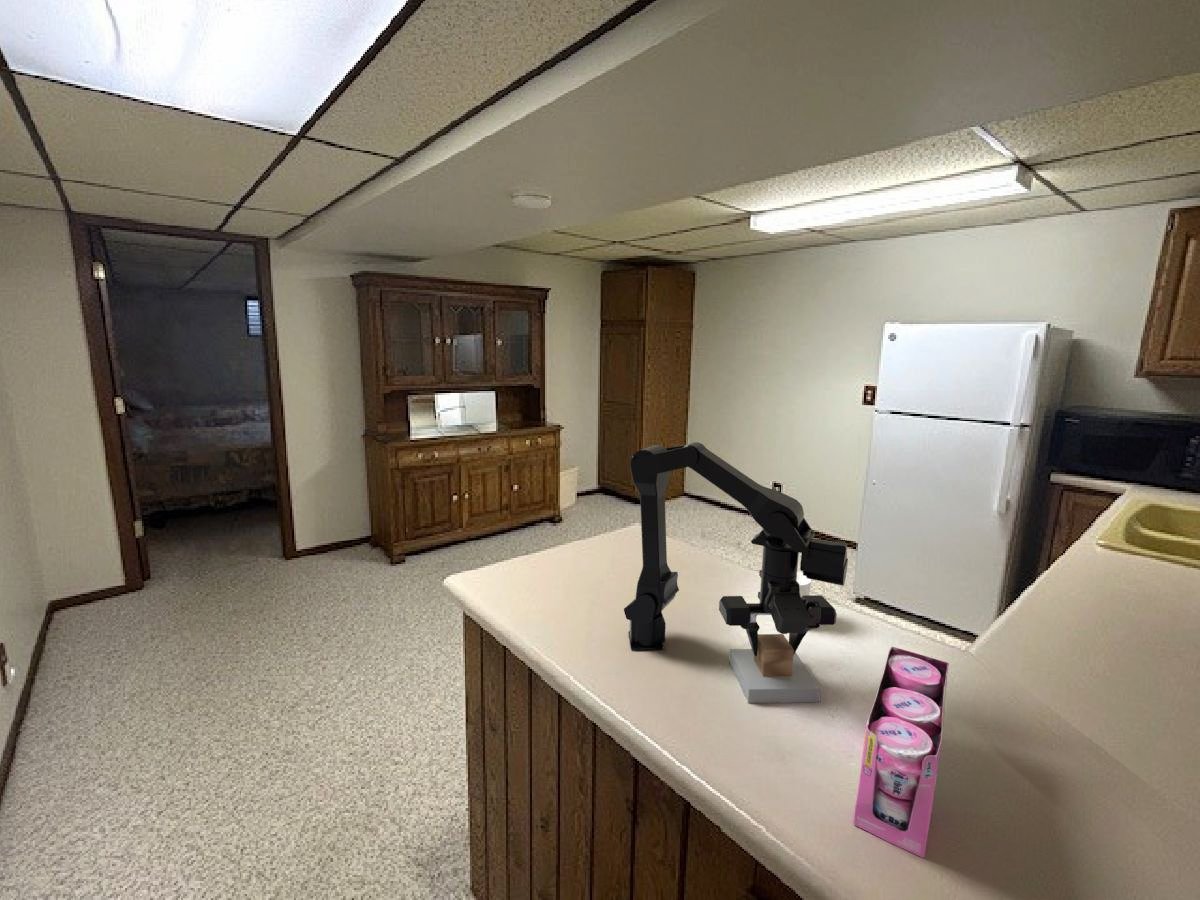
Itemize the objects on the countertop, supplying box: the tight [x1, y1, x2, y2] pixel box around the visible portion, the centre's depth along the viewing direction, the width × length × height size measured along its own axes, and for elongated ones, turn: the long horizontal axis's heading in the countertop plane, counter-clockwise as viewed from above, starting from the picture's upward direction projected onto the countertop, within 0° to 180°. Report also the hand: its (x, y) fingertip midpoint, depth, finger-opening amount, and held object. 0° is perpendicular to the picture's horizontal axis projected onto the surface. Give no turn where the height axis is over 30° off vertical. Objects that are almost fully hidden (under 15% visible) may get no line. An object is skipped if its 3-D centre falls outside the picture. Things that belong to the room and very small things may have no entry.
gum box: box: [852, 646, 950, 859], centre depth 70 cm, size 24×8×14 cm, turn 145°
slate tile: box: [728, 648, 822, 704], centre depth 94 cm, size 12×12×2 cm
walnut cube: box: [754, 633, 794, 676], centre depth 93 cm, size 5×5×5 cm
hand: (773, 654), depth 93 cm, fingers open, 6 cm apart
